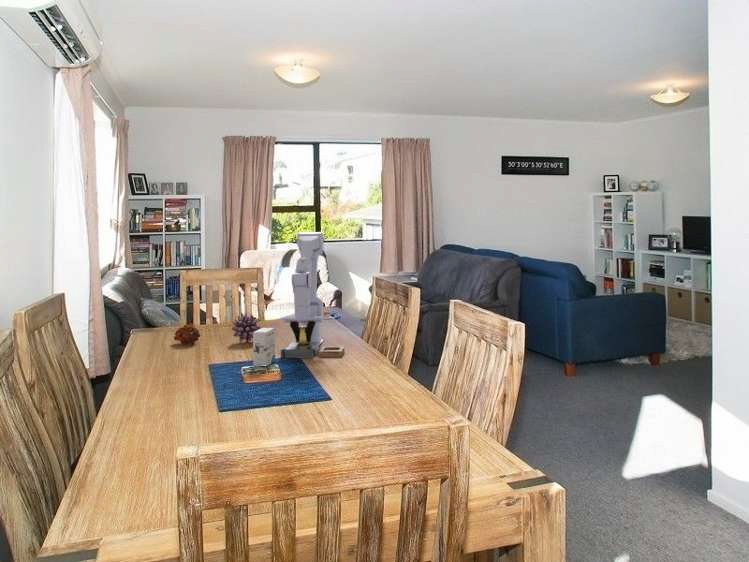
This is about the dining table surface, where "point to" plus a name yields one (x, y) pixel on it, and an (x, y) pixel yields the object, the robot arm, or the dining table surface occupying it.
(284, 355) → the drift key
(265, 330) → the ink box
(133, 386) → the dining table surface
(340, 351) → the rack
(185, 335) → the brown knobbly lump
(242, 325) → the purple spiky ball
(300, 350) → the socket block
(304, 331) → the yellow rectangular block
